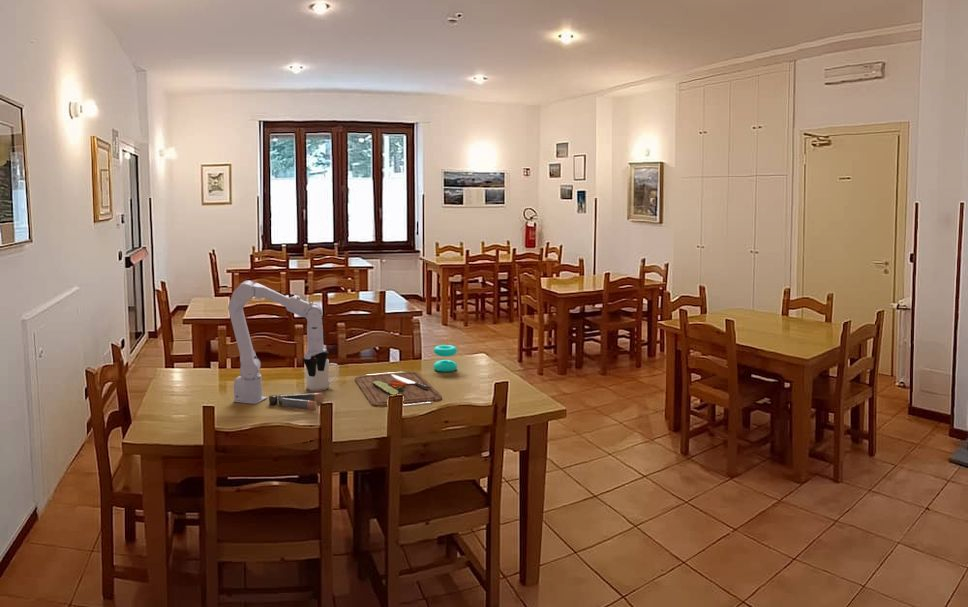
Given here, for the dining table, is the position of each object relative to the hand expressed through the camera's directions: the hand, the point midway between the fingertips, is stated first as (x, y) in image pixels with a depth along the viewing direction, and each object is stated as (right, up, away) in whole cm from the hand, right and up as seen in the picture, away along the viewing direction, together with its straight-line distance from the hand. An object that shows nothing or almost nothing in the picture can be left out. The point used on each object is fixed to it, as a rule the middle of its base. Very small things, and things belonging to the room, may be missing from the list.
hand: (316, 373), depth 279 cm
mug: (-1, -7, +14) cm, 16 cm away
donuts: (+46, -3, +43) cm, 63 cm away
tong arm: (-5, -10, -5) cm, 12 cm away
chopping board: (+28, -8, +15) cm, 33 cm away
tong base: (-7, -11, -9) cm, 15 cm away
